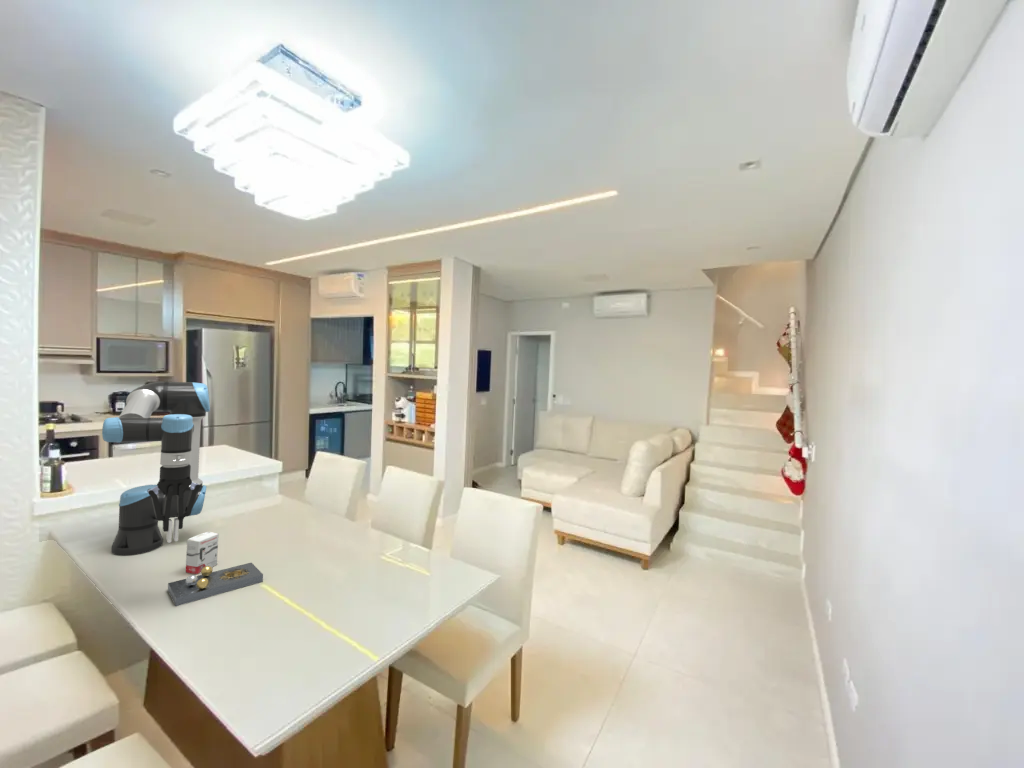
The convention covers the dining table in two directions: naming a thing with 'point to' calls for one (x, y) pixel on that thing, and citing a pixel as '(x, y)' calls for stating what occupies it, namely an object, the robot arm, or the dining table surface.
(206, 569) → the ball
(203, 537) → the ink box
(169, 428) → the robot arm
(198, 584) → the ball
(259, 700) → the dining table surface
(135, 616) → the dining table surface
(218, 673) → the dining table surface
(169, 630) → the dining table surface
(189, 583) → the steel ball
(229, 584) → the plate
